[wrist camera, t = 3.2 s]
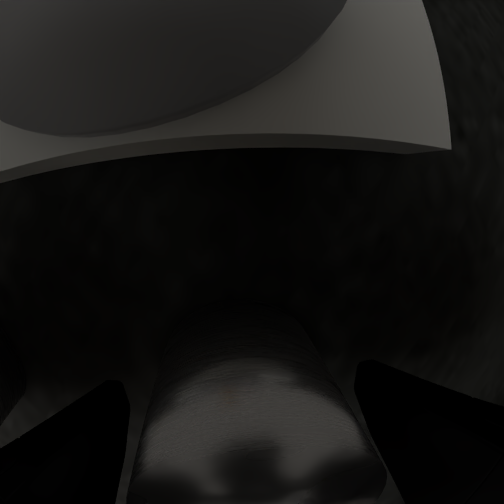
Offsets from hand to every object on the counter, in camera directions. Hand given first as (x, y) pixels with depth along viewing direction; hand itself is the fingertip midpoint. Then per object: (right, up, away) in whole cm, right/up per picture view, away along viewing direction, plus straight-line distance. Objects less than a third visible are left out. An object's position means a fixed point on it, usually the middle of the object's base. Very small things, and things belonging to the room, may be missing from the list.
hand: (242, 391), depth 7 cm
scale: (-3, +12, -2) cm, 12 cm away
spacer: (0, 0, +1) cm, 1 cm away
